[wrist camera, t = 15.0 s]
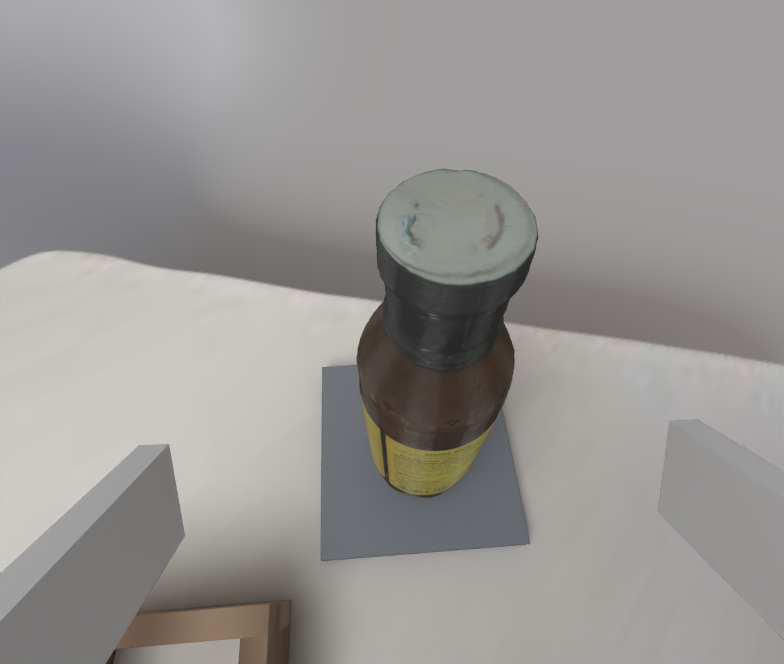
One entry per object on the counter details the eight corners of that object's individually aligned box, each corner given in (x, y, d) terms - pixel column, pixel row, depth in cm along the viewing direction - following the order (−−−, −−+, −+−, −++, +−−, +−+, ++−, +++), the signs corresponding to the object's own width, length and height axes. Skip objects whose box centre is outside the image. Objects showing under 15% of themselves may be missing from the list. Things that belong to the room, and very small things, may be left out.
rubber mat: (488, 363, 32) (491, 357, 31) (525, 544, 26) (529, 543, 25) (324, 373, 31) (322, 367, 30) (322, 560, 25) (320, 560, 24)
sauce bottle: (488, 448, 28) (657, 228, 10) (422, 524, 25) (496, 404, 8) (415, 382, 30) (453, 111, 13) (348, 447, 28) (282, 223, 10)
